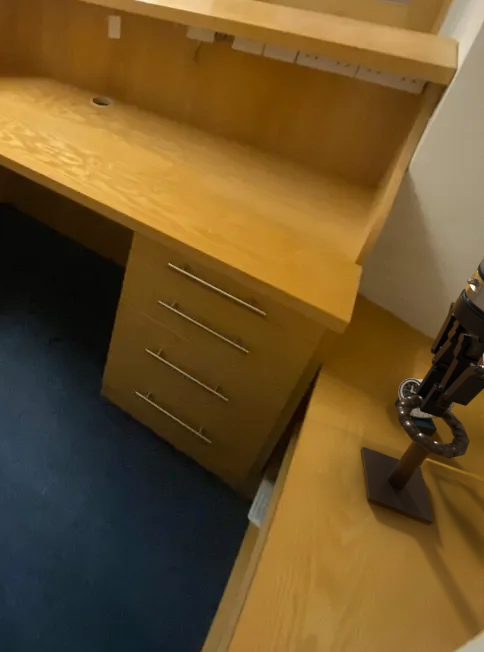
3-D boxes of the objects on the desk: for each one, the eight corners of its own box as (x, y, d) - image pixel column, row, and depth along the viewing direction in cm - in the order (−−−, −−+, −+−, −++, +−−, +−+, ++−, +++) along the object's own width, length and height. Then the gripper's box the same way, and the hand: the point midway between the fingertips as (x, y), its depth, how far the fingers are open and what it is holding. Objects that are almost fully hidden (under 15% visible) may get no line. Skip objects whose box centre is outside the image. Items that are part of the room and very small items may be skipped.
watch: (382, 403, 100) (402, 369, 94) (427, 412, 98) (451, 377, 93) (392, 431, 95) (415, 397, 89) (440, 441, 94) (466, 406, 88)
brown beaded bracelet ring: (452, 410, 82) (457, 403, 81) (474, 468, 75) (480, 462, 74) (388, 392, 84) (392, 386, 83) (403, 447, 77) (408, 441, 76)
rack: (418, 470, 89) (449, 428, 83) (430, 525, 82) (465, 484, 75) (360, 449, 92) (386, 407, 86) (367, 501, 85) (395, 459, 78)
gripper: (449, 259, 77) (392, 357, 89) (480, 339, 65) (409, 439, 77) (510, 274, 74) (443, 372, 86) (554, 359, 62) (469, 460, 74)
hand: (427, 403), depth 82 cm, fingers closed on brown beaded bracelet ring, 2 cm apart
